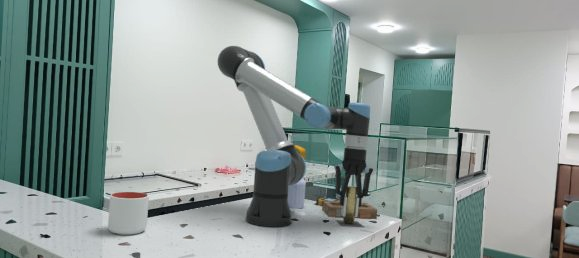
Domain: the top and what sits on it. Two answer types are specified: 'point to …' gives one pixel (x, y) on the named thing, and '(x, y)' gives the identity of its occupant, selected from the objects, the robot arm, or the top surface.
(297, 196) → the soap bottle
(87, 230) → the top surface
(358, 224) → the mat
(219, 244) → the top surface
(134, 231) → the cup
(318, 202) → the electronic device
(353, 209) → the yellow tall cylinder
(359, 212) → the socket block
